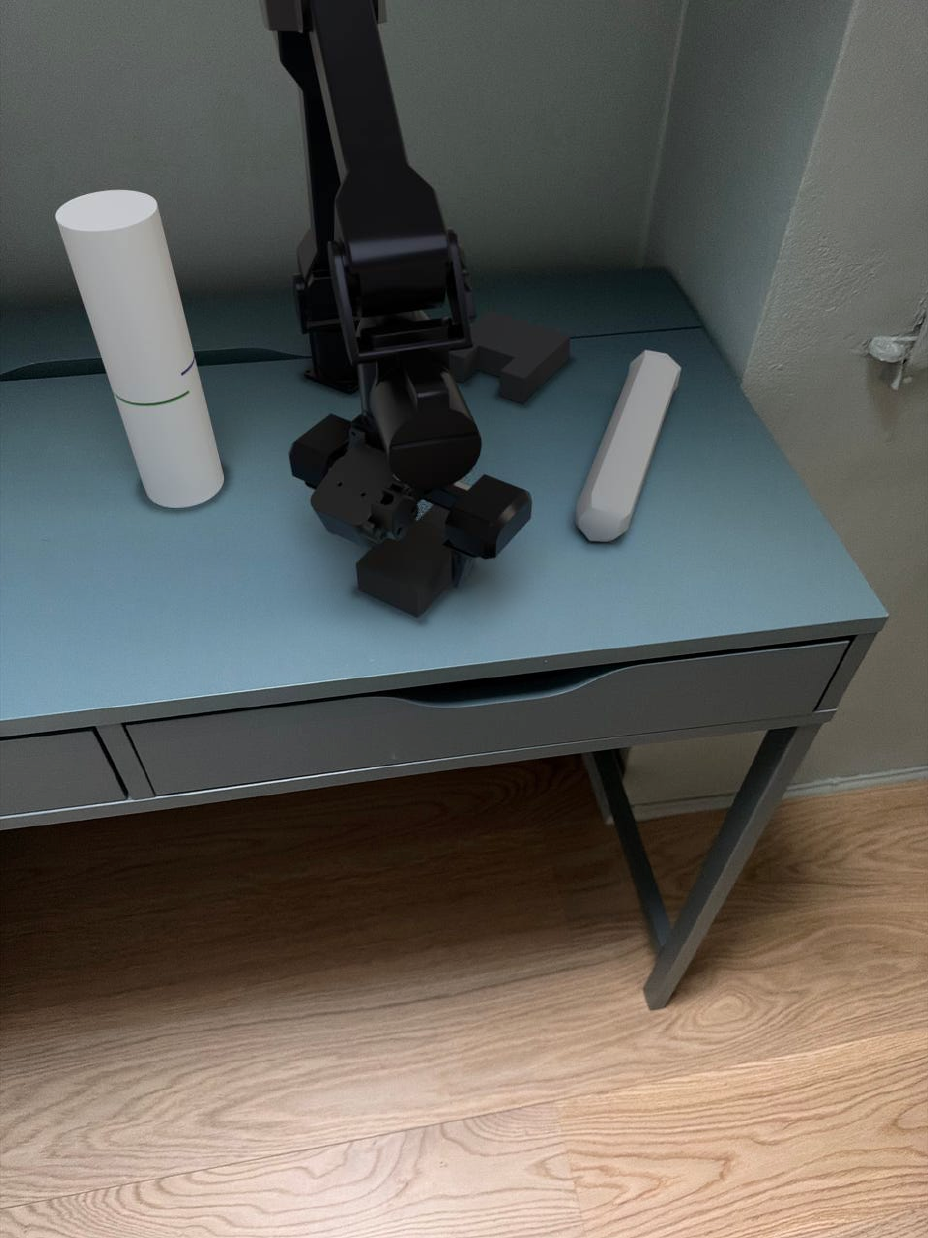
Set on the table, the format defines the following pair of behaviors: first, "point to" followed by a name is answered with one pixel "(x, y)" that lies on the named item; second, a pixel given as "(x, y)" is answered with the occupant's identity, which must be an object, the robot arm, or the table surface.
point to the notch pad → (512, 354)
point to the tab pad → (409, 565)
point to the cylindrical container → (143, 341)
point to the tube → (627, 447)
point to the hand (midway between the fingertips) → (411, 563)
